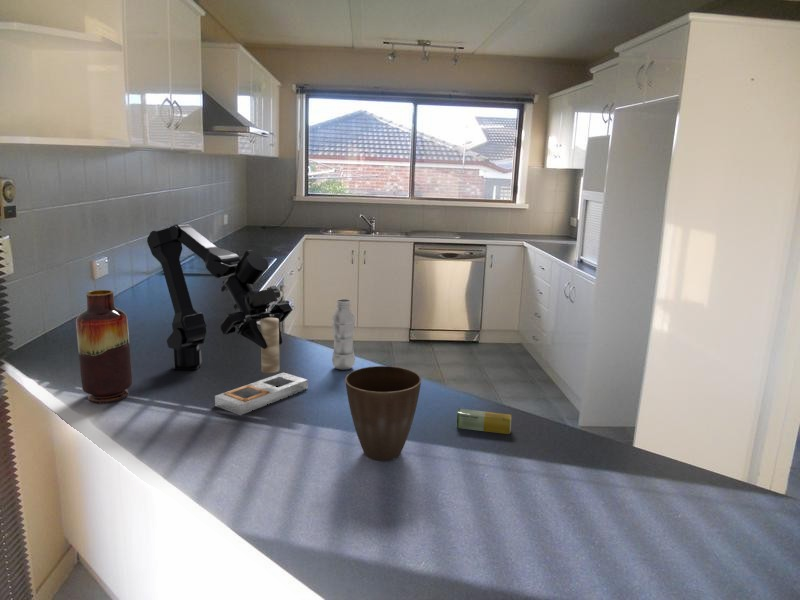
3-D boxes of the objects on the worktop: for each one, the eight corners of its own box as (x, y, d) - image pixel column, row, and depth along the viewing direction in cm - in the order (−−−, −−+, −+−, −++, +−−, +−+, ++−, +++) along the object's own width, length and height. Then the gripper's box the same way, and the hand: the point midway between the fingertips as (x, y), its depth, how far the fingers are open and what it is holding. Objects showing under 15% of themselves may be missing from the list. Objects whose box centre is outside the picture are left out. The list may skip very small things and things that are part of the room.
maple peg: (260, 373, 147) (259, 322, 144) (262, 367, 151) (261, 317, 149) (278, 372, 148) (278, 321, 145) (279, 367, 152) (279, 317, 149)
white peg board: (240, 415, 138) (239, 404, 137) (215, 405, 143) (214, 395, 142) (307, 388, 155) (307, 379, 155) (283, 381, 160) (283, 371, 160)
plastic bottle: (359, 366, 173) (359, 299, 169) (347, 373, 167) (347, 304, 163) (339, 363, 176) (339, 297, 172) (327, 370, 170) (327, 301, 166)
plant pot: (392, 479, 111) (394, 397, 108) (329, 457, 119) (329, 381, 115) (432, 449, 123) (434, 375, 120) (372, 431, 131) (373, 361, 128)
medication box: (455, 429, 134) (456, 412, 133) (457, 424, 136) (458, 407, 135) (510, 435, 131) (511, 418, 130) (510, 430, 134) (511, 413, 133)
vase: (83, 408, 140) (72, 298, 134) (83, 392, 149) (73, 289, 144) (134, 400, 145) (126, 295, 139) (131, 386, 154) (123, 286, 149)
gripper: (226, 280, 140) (257, 335, 136) (287, 271, 154) (317, 320, 150) (207, 308, 146) (237, 361, 142) (267, 296, 161) (296, 344, 156)
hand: (273, 345), depth 147 cm, fingers closed on maple peg, 4 cm apart
